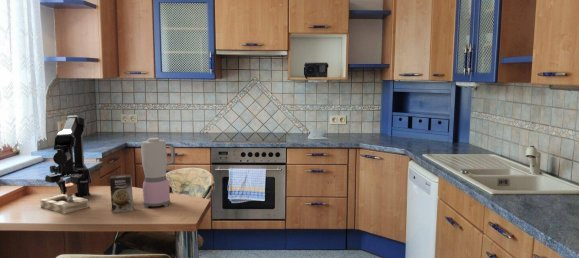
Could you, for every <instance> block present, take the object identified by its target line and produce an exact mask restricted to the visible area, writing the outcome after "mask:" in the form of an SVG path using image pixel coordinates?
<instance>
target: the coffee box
mask: <svg viewBox="0 0 579 258" xmlns="http://www.w3.org/2000/svg"><path fill="white" fill-rule="evenodd" d="M132 177H133V176H132V174H118V175H110V177H109V185H110V186H109V187H110V199H111V201H110V202H111V203H110V204H111V213H112V214H113V213H114V214H115V213H126V212H133V210H134V203H133V202H134V199H133V197H134V196H133V179H132Z"/></svg>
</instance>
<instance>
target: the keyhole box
mask: <svg viewBox="0 0 579 258" xmlns="http://www.w3.org/2000/svg"><path fill="white" fill-rule="evenodd" d="M39 202H40V207H41V208H44V209H46V210H51V211H53V212H54V211H55V212H56V213H61V214H65V215H66V214H69V213H72V212H76V211H79V210H82V209H86V208H89V207H90V205H89V199H87V198H83V197H81V196H79V197H77V196H76V195H73V202H69V203H68V202H67V195H64V194H58V195H55V196H50V197H46V198H43V199H40V201H39Z"/></svg>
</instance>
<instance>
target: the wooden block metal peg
mask: <svg viewBox="0 0 579 258" xmlns="http://www.w3.org/2000/svg"><path fill="white" fill-rule="evenodd" d="M60 191H61V190H60ZM74 193H78V191H77V184H74V183H71V182H68V183H65V195H67V202H68V203H69V202H73V196H74V195H75V194H74ZM61 194H63V193H62V191H61ZM61 194H60V195H61Z"/></svg>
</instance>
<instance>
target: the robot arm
mask: <svg viewBox="0 0 579 258" xmlns="http://www.w3.org/2000/svg"><path fill="white" fill-rule="evenodd" d="M87 127H88V126H87V120H86V119H85V118H82V117H79V116H78V115H68V116H67V117H66V121H65V124H64V125H63V128H62V130H60V131H58V132H57V134H56V136H55V137H54V142H53V150H54V151H56V152H55V153H54V154H53V157H52V158H53V159H52V160H53V162H54V163H55V164H56V165H57V166H56V165H50V166H49V172H50V173H51V174H46V175H45V179H44V181H45V182H47V183H50V184H51V183H52V184H54V183H56V185H57V186H58V188H59V189H60V191H62V193H63V194H64V195H65V184H66V180H64V179H65V178H70V183H74V184H77V191H78V193H74V194H73V195H74V196H76V197H85V196H89V195H91V193H90V184H91V183H92V175H91V172H90V169H88V167H87V166H86V164H85V157H84V153H85V152H84V138H83V137H84V134H85V133H86V131H87V130H86V129H87Z"/></svg>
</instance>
